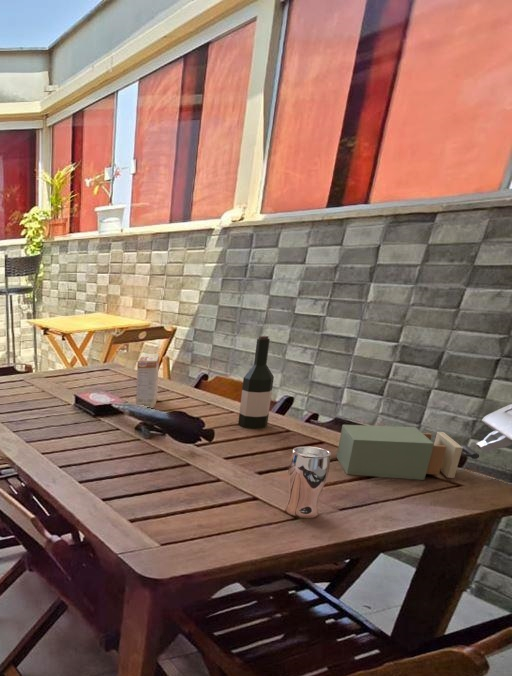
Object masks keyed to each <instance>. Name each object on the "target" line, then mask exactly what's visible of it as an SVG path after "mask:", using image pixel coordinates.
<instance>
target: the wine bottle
mask: <svg viewBox="0 0 512 676" xmlns="http://www.w3.org/2000/svg"><path fill="white" fill-rule="evenodd" d="M270 340H271V339H270V338H269V335H259V336H258V338H257V339H256V345H255V353H254V362H253V365H252V367H251V368H250V369H249V370H248V371H247V373H246V374H245V375H244V376H243V381H242V387H241V388H242V389H241V397H240V405H239V412H238V413H239V414H238V423H237V425H238V426H239V425H240V427H241V426H242V428H244V427H245V428H244V429H250V430H251V429H252V430H257V429H265V428H266V427H267V426H268V422H269V415H270V407H271V400H272V393H273V385H274V378H275V376H274V375H273V373H272V371H271V370H270V368H269V366H268V365H267V363H268V355H269V348H270Z"/></svg>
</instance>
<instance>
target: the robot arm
mask: <svg viewBox="0 0 512 676" xmlns="http://www.w3.org/2000/svg"><path fill="white" fill-rule="evenodd" d="M510 356H511V358H512V349H511V350H510ZM481 421H482V422H483V423H484V424H485V426H487V427H488V428H490V429H491V430H492V431H491V432H489V433H488V434H487V435H486V436H485V437H484V438H483V439H482V440H479V441H477V442H476V443H475V446H476V447H477V448H479V449H480V450H482V452H484V453H486V454H487V453H490V452H493V451H494V450H497V449H502V448H506V447H507V448H508V447H510V446H512V403H511V404H510V403H509V404H508V405H505V406H503V407H501V408H499V409H496V410H495V411H492V412H490V413H488V414H486V415H485V416H483V418H482V419H481Z"/></svg>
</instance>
